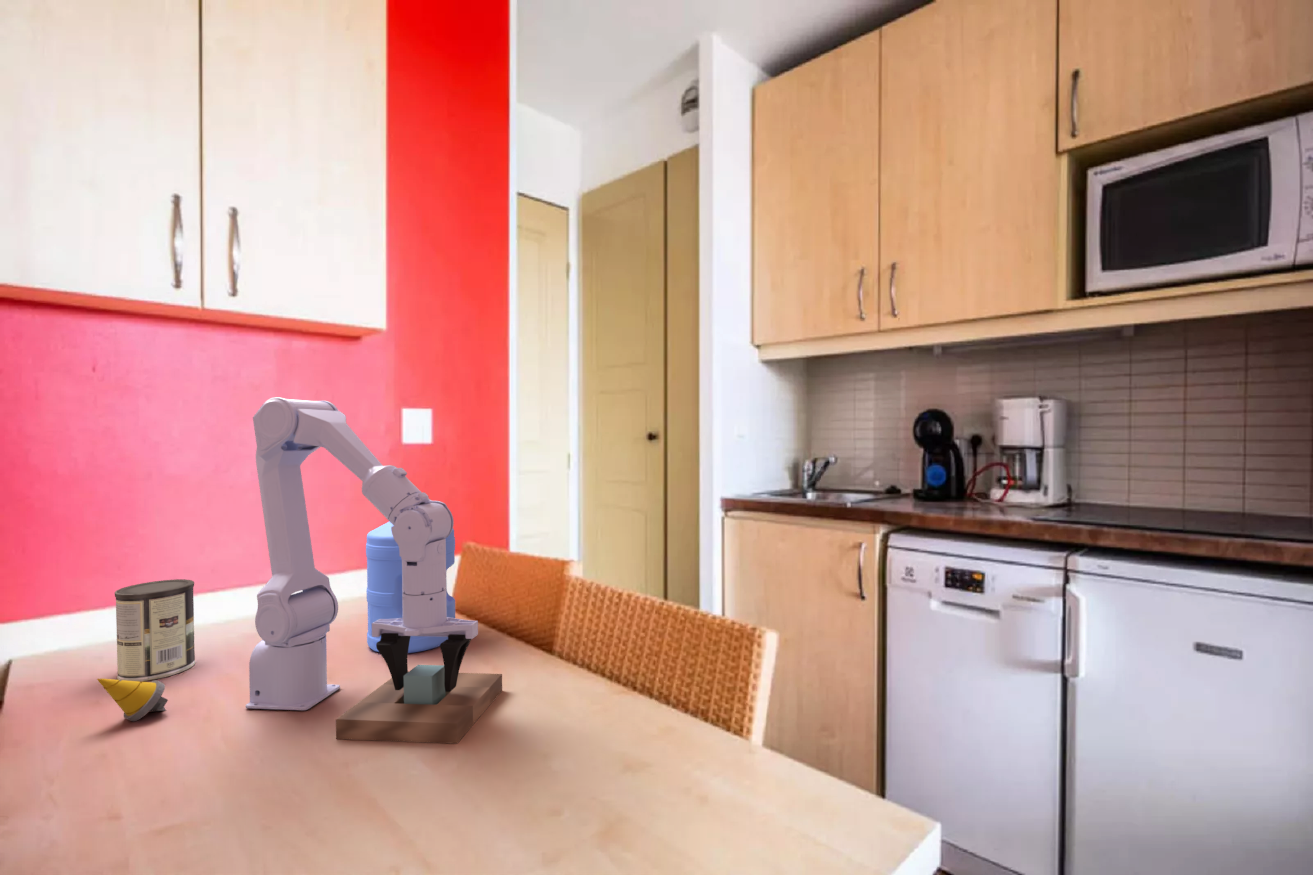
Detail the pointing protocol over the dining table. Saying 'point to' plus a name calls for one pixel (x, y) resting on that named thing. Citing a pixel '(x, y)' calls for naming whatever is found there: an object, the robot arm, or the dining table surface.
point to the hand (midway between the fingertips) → (425, 688)
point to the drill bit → (136, 696)
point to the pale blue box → (424, 685)
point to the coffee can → (155, 629)
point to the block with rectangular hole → (420, 712)
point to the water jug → (395, 585)
